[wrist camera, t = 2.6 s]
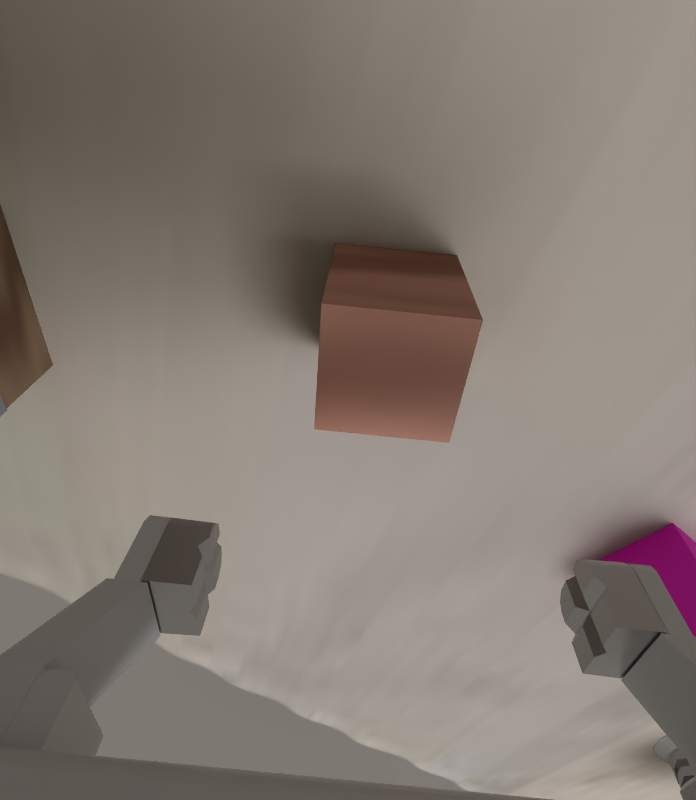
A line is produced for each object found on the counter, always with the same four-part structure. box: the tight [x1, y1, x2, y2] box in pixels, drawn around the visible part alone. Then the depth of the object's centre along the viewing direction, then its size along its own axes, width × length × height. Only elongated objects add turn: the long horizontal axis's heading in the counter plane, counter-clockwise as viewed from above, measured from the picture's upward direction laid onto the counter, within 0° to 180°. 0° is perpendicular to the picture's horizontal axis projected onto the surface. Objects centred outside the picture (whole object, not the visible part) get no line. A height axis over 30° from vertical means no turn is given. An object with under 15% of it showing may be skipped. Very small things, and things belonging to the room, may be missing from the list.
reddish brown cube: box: [314, 243, 483, 443], centre depth 19 cm, size 5×5×6 cm
